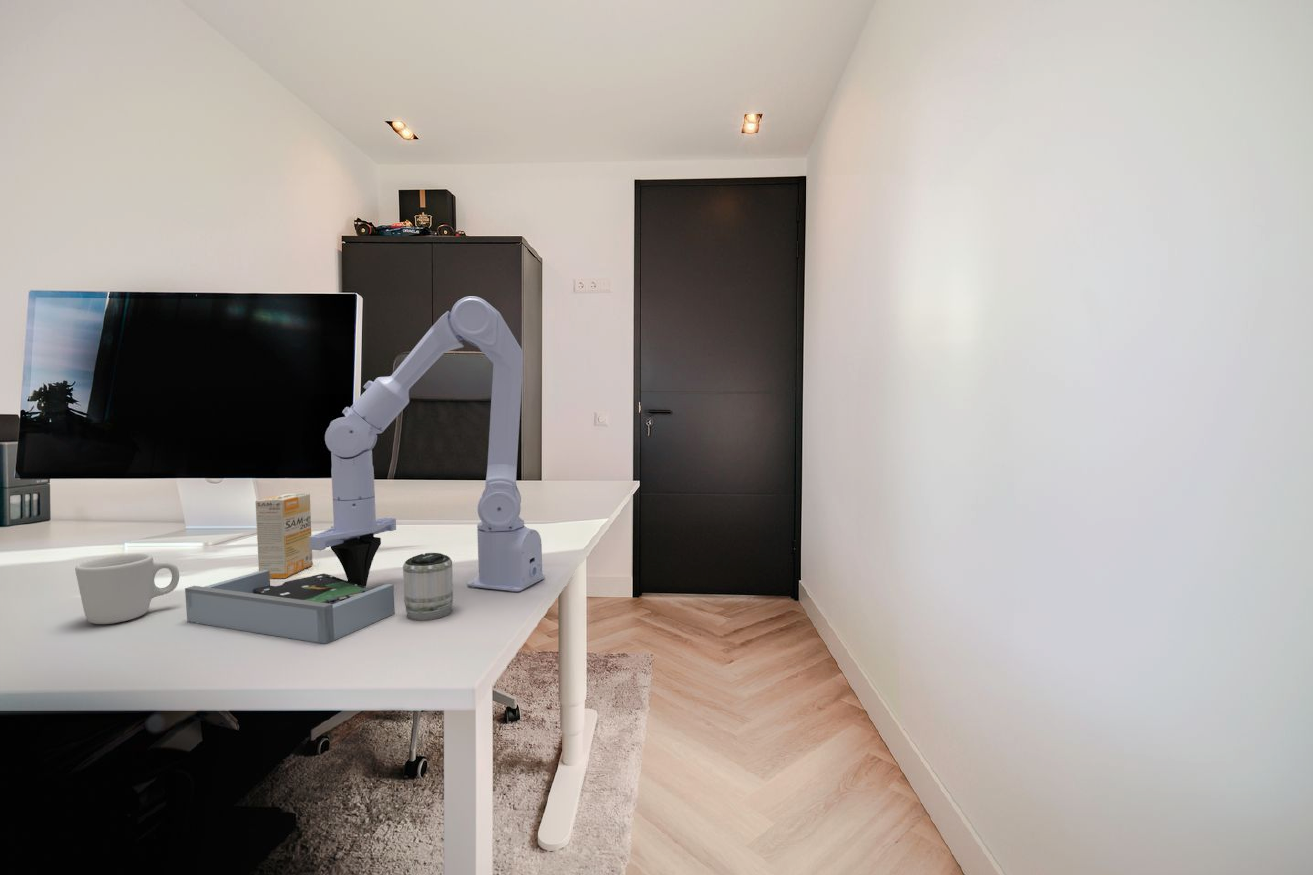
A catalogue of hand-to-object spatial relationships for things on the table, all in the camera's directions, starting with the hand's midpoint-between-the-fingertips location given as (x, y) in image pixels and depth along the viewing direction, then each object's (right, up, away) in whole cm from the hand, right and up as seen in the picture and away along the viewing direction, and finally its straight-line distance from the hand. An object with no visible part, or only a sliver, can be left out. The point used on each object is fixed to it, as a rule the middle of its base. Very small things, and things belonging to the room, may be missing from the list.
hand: (358, 586), depth 96 cm
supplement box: (-18, -1, +12) cm, 22 cm away
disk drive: (-4, -2, -5) cm, 7 cm away
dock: (-4, -2, -10) cm, 11 cm away
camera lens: (+14, -2, -9) cm, 17 cm away
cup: (-27, -2, -9) cm, 28 cm away
